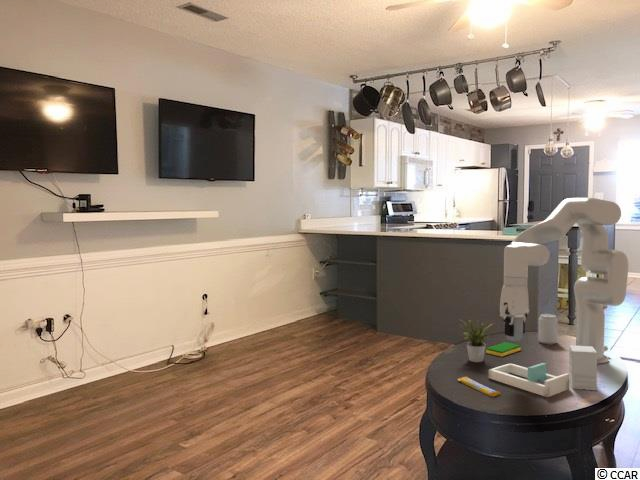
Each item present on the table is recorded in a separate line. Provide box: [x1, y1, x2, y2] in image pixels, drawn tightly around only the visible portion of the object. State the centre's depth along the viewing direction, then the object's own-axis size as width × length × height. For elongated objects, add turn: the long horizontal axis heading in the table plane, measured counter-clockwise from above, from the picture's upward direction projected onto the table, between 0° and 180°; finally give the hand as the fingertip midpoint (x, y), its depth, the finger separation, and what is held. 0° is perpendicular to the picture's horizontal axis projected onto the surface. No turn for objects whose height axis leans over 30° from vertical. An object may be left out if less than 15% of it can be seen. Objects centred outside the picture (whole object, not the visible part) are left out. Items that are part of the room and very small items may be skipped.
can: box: [537, 313, 559, 345], centre depth 221 cm, size 8×8×12 cm
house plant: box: [457, 318, 494, 363], centre depth 198 cm, size 14×14×16 cm
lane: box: [488, 362, 570, 398], centre depth 172 cm, size 12×22×5 cm, turn 34°
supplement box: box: [568, 344, 598, 391], centre depth 169 cm, size 7×7×13 cm
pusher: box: [527, 362, 547, 385], centre depth 168 cm, size 8×5×7 cm, turn 124°
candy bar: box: [457, 376, 501, 398], centre depth 169 cm, size 17×4×2 cm, turn 24°
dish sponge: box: [485, 341, 522, 357], centre depth 209 cm, size 7×14×2 cm, turn 128°
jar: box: [506, 313, 524, 343], centre depth 175 cm, size 5×5×9 cm
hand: (514, 333), depth 175 cm, fingers closed on jar, 5 cm apart
